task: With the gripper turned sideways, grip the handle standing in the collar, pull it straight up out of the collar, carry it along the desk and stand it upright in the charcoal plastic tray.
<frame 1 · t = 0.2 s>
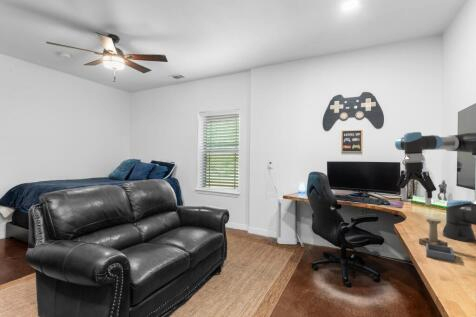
hand: (415, 202, 124), 27 cm above the table, tool pointing down, fingers open, 13 cm apart
tray: (439, 255, 122), on the table
collar: (433, 245, 135), on the table
handle: (433, 246, 135), resting in collar
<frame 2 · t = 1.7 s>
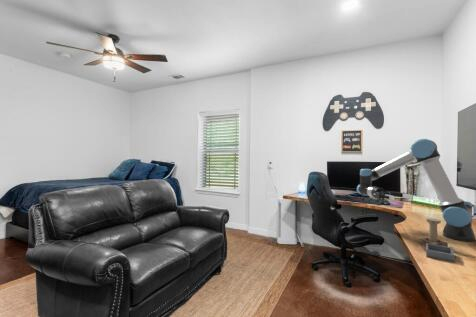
hand: (403, 197, 144), 26 cm above the table, tool horizontal, fingers open, 13 cm apart
nothing on the table moved.
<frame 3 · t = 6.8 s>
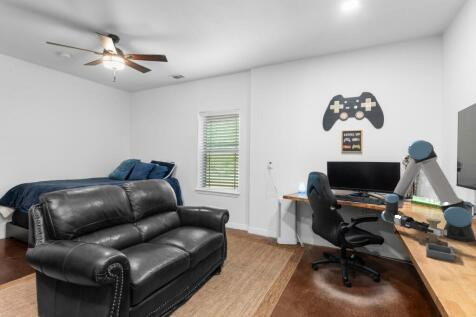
hand: (443, 233, 129), 9 cm above the table, tool horizontal, fingers closed on handle, 3 cm apart
handle: (433, 246, 135), resting in collar, touching gripper
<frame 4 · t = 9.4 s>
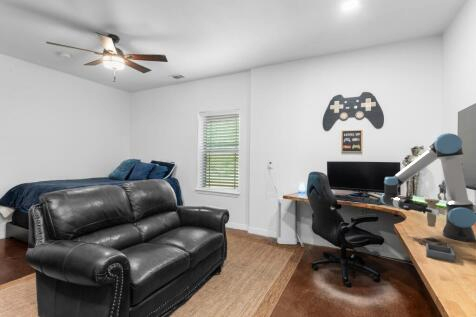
hand: (441, 212, 126), 21 cm above the table, tool horizontal, fingers closed on handle, 3 cm apart
handle: (431, 226, 132), point 12 cm above the table, touching gripper
when the fingers open (11 cm above the table, at t = 12.0 s): handle drops 2 cm, resting on tray.
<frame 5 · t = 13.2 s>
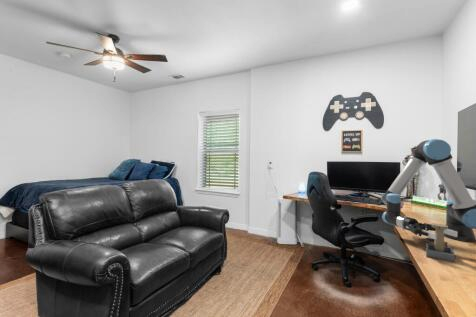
hand: (446, 235, 118), 12 cm above the table, tool horizontal, fingers open, 13 cm apart
handle: (439, 254, 122), point 1 cm above the table, touching tray
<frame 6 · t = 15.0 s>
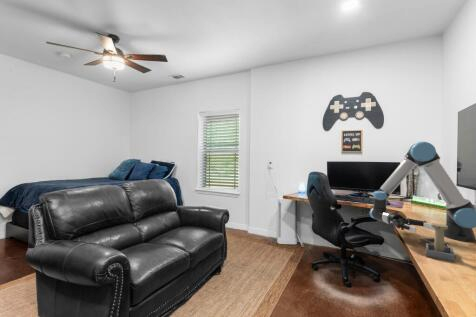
hand: (426, 229, 128), 12 cm above the table, tool horizontal, fingers open, 13 cm apart
nothing on the table moved.
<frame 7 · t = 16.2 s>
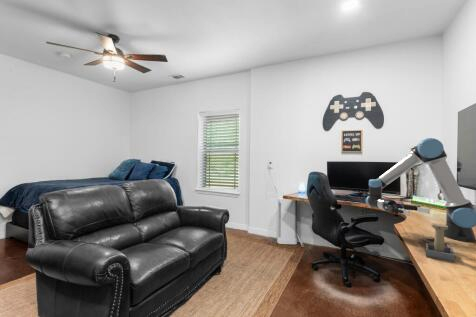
hand: (419, 212, 132), 20 cm above the table, tool horizontal, fingers open, 13 cm apart
nothing on the table moved.
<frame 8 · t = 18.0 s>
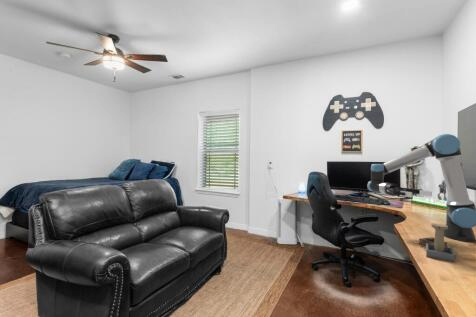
hand: (421, 194, 131), 30 cm above the table, tool horizontal, fingers open, 13 cm apart
nothing on the table moved.
at the end: handle inside the target area on the tray (0.1 cm from its centre), point 0.6 cm above the tray's base; handle tilted 0°; the gripper is holding nothing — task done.
